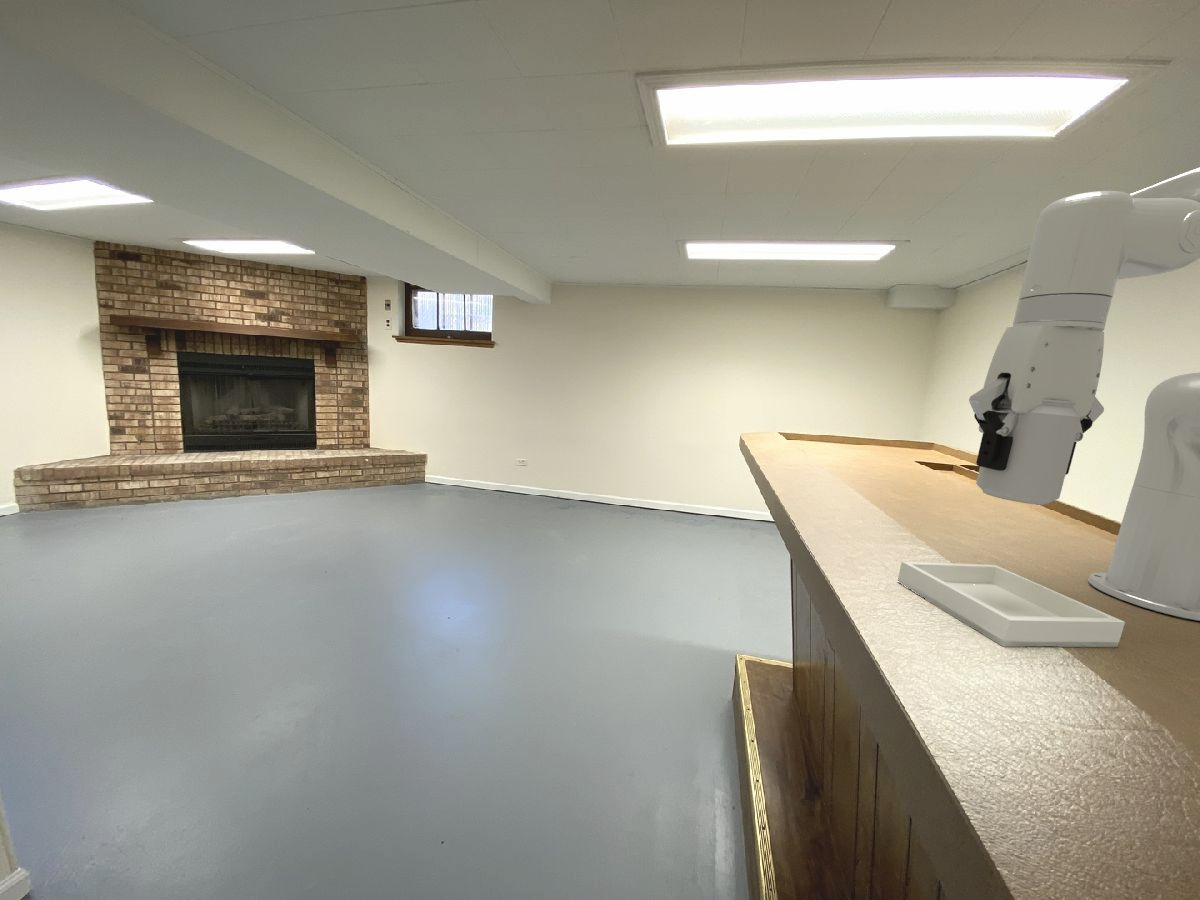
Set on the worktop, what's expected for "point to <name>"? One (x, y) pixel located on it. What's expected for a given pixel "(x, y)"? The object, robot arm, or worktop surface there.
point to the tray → (1010, 606)
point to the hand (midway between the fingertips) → (1021, 469)
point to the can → (1035, 455)
